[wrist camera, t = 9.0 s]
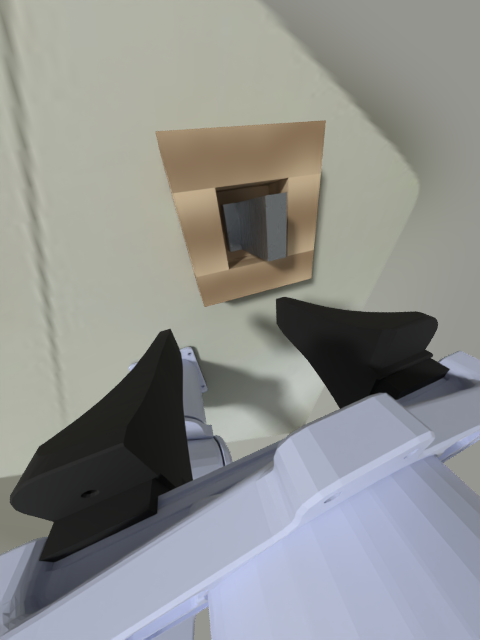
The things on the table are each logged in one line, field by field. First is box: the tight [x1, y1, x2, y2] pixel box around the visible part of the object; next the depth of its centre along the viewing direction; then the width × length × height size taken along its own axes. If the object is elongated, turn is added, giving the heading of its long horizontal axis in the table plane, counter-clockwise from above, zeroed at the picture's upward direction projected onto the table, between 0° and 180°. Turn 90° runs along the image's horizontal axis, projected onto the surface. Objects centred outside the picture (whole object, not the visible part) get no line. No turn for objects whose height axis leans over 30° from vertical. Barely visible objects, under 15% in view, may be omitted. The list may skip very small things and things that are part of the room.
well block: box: [156, 121, 326, 307], centre depth 16 cm, size 12×12×4 cm
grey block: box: [221, 192, 287, 261], centre depth 15 cm, size 4×4×7 cm
